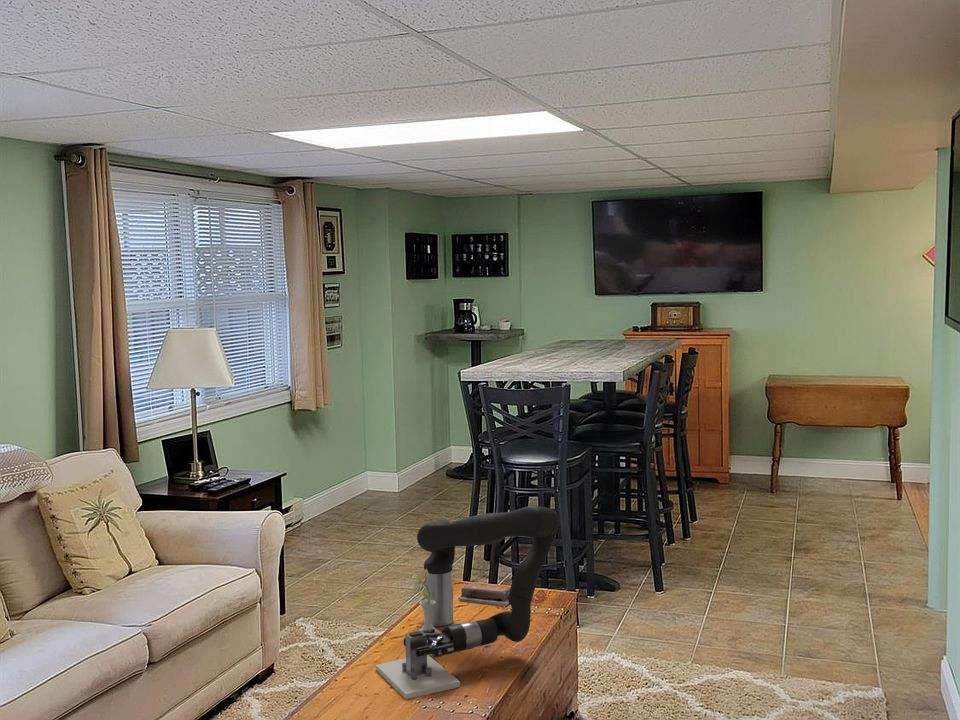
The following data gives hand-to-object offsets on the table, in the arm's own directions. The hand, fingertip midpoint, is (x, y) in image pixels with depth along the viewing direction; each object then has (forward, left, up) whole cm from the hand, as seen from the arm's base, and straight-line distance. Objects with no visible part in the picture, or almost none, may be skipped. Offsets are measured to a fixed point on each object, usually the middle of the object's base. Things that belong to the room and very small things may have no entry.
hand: (409, 647), depth 263 cm
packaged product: (-49, +50, -10) cm, 70 cm away
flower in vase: (-19, +14, -9) cm, 25 cm away
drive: (0, +2, -8) cm, 8 cm away
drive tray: (0, +2, -9) cm, 9 cm away
